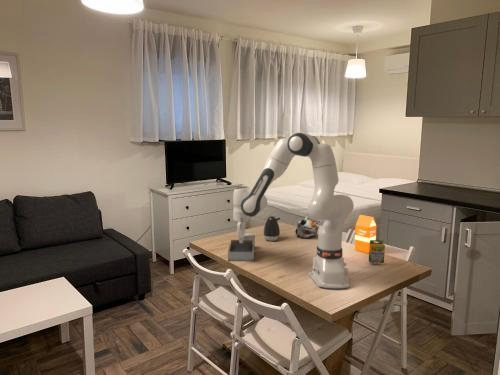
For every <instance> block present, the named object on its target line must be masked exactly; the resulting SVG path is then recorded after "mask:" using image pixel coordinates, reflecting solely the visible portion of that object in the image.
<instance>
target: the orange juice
mask: <svg viewBox="0 0 500 375" xmlns="http://www.w3.org/2000/svg"><path fill="white" fill-rule="evenodd" d="M354 234H355V235H354V250H356V251H360V252H364V253H367V254H369V247H370V240H377V224H376V220H375V218H374V217H373V216H368V215H363V214H359V217H358V219H357V220H356V223H355V233H354ZM374 243H376V241H374Z"/></svg>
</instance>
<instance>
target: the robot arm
mask: <svg viewBox="0 0 500 375" xmlns="http://www.w3.org/2000/svg"><path fill="white" fill-rule="evenodd" d="M270 151H271V152H270V153H269V155H268V157H267V160H266V162H265V164H264V167H263V169H262V171H261V173H260V175H259V177H258V179H257V181H256V183H255V184H254V186H253V187H252V188H250V187H249V186H247V185H243V186H238V187H236V188H234V190H233V193H232V204H233V209H232V220H233V221H235V224H237V225H236V237H237V238H238V240H239V243H243V238H244V234H246V232H245V230H246V225H247V223H248V221H250V219H251V218H252V217H255V216H256V215H258V214H259V213H260V212H262V211H264V209H266V207H267V205H268V199H267V197H266V196H265V194H266V192H267V191H268V189H269V186H271V184H273V182H274V181H276V180H277V179H279V178H280V177H282V175H284V174H285V171H286V170H287V169H288V167H289V166H290V164H291V161H292V160H293V158H294V157H295V156H300V157H304V158H305V157H307V158H309V159H310V161H311V165H312V172H313V173H312V174H313V180H314V191H313V196H312V198H311V199H310V201H309V203H308V205H307V213H308V215H309V216H308V217H310V219H311V220H312V221H316V222H318V221H319V222H323V224H322V225H321V226H320V227H319V229H318V231H317V246H316V256H314V257H313V258H312V259H313V260H312V271H309V272H308V276H309V277H310V278H311V279H312V280H313V281H314V282H315V283H316V285H317V286H318V287H320V288H325V289H346V288H349V287H350V278H349V268H347V267H346V266H347V263H346V262H345V258H344V257H343V247H342V240H343V231H344V228H345V224H346V222H347V220H348V217H349V216H350V214H351V213H352V212H353V210H354V206H355V205H354V201H353V199H352V198H351V196H348V195H345V194H334V193H335V188H336V187H337V185H338V183H339V180H340V179H339V174H338V168H337V167H338V166H337V161H336V157H335V154H334V152H333V149H332V147H331V145H330V144H328V143H321V142H320V141H319V139H318V138H317V137H316V136H314V135H311V134H308V133H305V132H296V133H293V134H292V135H291V136H289V138H285V137H283V138H280V139H279V140H278V141H277V142H276V144H275V145H274V146H273V148H272V150H270Z"/></svg>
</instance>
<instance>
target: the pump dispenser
mask: <svg viewBox="0 0 500 375" xmlns="http://www.w3.org/2000/svg"><path fill="white" fill-rule="evenodd" d="M279 220H281V217H275V216H272V215H271V216H269V217H268V218H266V221H265V223H264V228H263V236H264V239H265V240H267V241H269V242H275V241H277V240H278V239H279V237H280V234H281V233H280V232H281V230H280V226H279V222H278V221H279Z"/></svg>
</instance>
